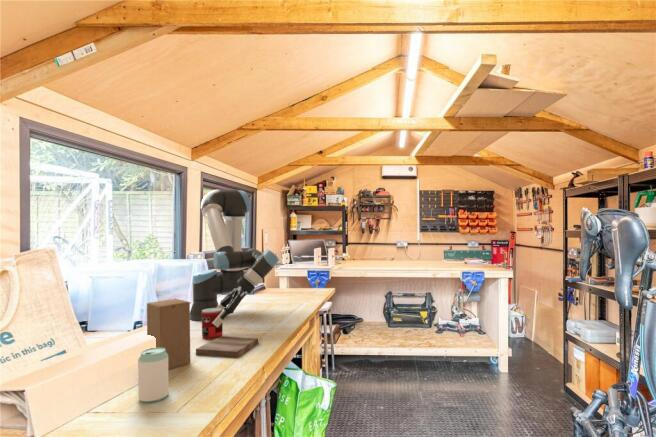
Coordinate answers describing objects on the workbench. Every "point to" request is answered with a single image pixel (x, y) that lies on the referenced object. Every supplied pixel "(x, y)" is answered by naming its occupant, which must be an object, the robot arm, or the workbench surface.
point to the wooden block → (171, 329)
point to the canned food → (207, 326)
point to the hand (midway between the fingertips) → (212, 321)
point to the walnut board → (227, 346)
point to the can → (153, 375)
